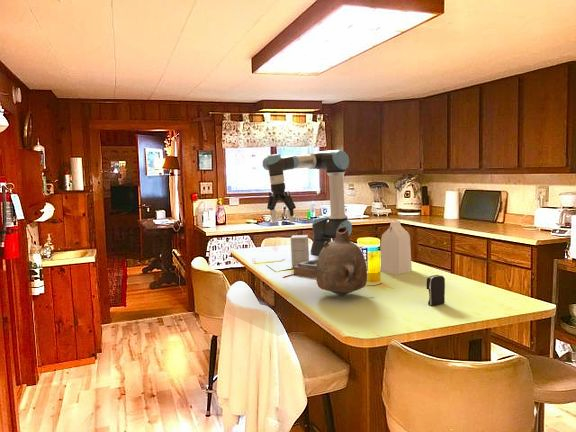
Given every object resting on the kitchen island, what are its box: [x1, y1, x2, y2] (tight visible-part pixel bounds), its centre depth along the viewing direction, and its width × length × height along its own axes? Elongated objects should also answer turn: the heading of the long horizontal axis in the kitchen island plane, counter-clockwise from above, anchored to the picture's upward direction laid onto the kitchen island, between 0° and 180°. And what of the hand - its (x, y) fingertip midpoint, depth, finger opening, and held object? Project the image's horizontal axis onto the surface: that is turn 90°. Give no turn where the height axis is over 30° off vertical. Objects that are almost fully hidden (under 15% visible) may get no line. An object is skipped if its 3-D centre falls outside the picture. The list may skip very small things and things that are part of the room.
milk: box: [380, 220, 413, 275], centre depth 248 cm, size 12×12×26 cm
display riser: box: [293, 258, 318, 279], centre depth 249 cm, size 20×20×6 cm
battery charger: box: [426, 274, 446, 307], centre depth 188 cm, size 7×4×11 cm, turn 117°
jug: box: [315, 226, 368, 297], centre depth 203 cm, size 24×21×30 cm
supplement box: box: [290, 234, 310, 267], centre depth 270 cm, size 10×9×17 cm
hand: (283, 221), depth 261 cm, fingers open, 13 cm apart
